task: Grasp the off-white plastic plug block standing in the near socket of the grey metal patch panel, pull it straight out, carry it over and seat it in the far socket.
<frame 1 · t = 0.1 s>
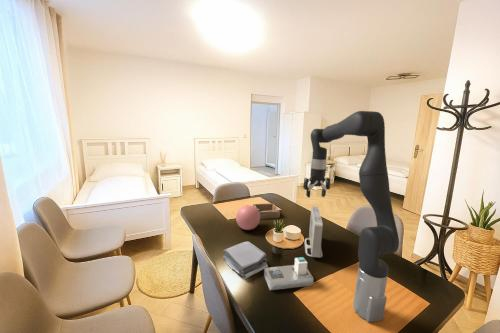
hand: (315, 196, 121), 29 cm above the table, fingers open, 8 cm apart
patch panel: (287, 280, 98), on the table
coaster tray: (265, 213, 169), on the table
pink rubber ball: (250, 227, 147), on the table
network device: (312, 248, 125), on the table
plug: (299, 278, 99), resting on patch panel
towel: (244, 265, 109), on the table
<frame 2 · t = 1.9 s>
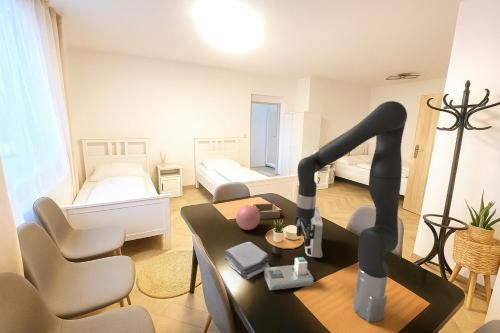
hand: (302, 240, 96), 19 cm above the table, fingers open, 8 cm apart
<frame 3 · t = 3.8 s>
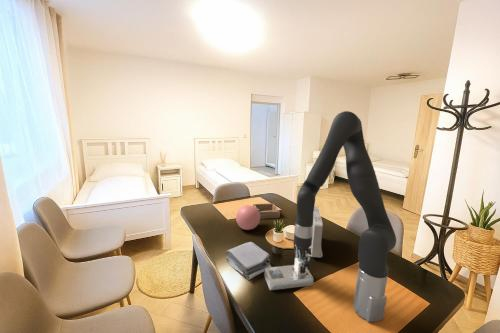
hand: (300, 269, 98), 5 cm above the table, fingers closed on plug, 4 cm apart
plug: (299, 278, 99), point 1 cm above the table, touching gripper, patch panel
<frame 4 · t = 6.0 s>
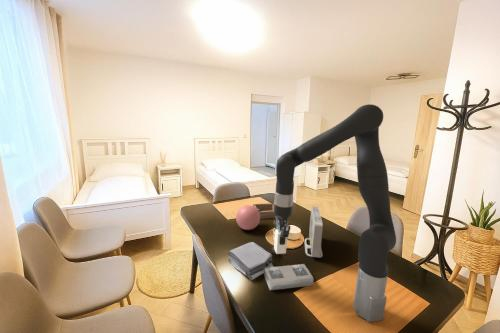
hand: (280, 241, 95), 19 cm above the table, fingers closed on plug, 4 cm apart
plug: (279, 250, 96), point 14 cm above the table, touching gripper
towel: (250, 266, 108), on the table
everything else where it was.
when the fingers open (7 cm above the table, at t = 8.2 s): plug drops 1 cm, resting on patch panel.
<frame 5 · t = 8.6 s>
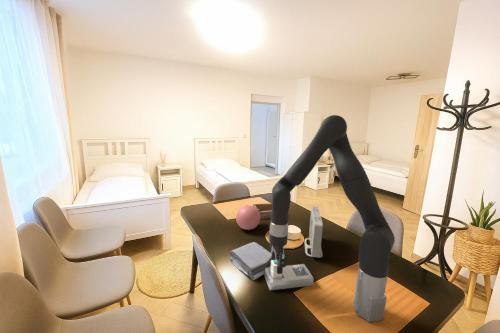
hand: (276, 267, 96), 7 cm above the table, fingers open, 7 cm apart
plug: (275, 281, 97), resting on patch panel
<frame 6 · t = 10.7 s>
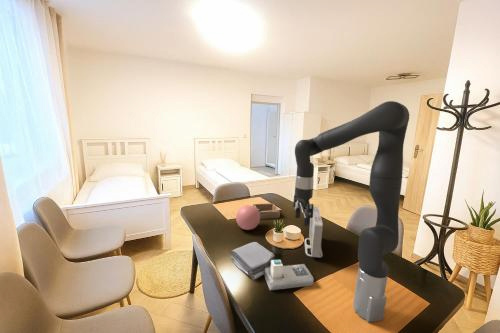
hand: (301, 221, 99), 25 cm above the table, fingers open, 8 cm apart
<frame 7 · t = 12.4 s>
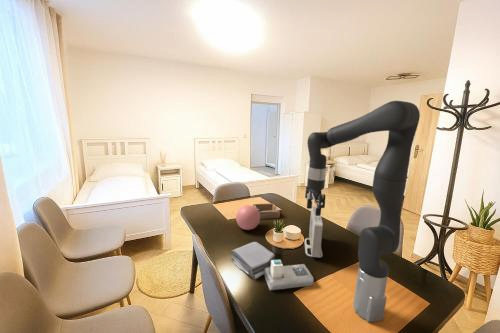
hand: (313, 211, 103), 28 cm above the table, fingers open, 8 cm apart
at the end: plug 0.1 cm from the target spot on the patch panel, point 0.5 cm above the patch panel's base; plug tilted 0°; the gripper is holding nothing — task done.
